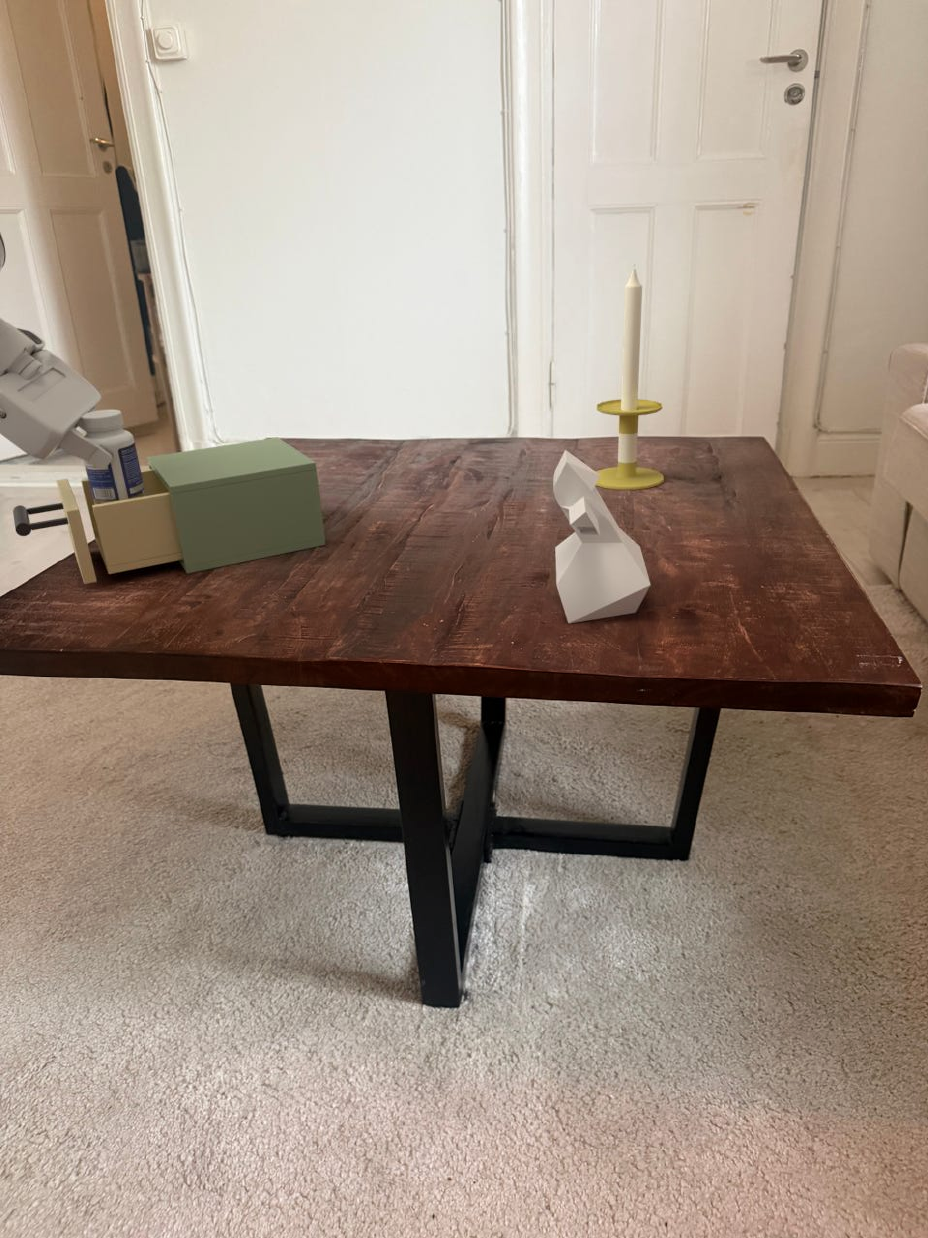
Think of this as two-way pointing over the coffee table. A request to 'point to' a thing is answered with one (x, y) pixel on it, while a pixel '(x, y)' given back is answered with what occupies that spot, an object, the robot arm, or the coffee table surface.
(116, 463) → the pill bottle
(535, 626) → the coffee table surface
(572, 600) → the faceted knight figurine
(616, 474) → the candle
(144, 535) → the drawer
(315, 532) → the cabinet
